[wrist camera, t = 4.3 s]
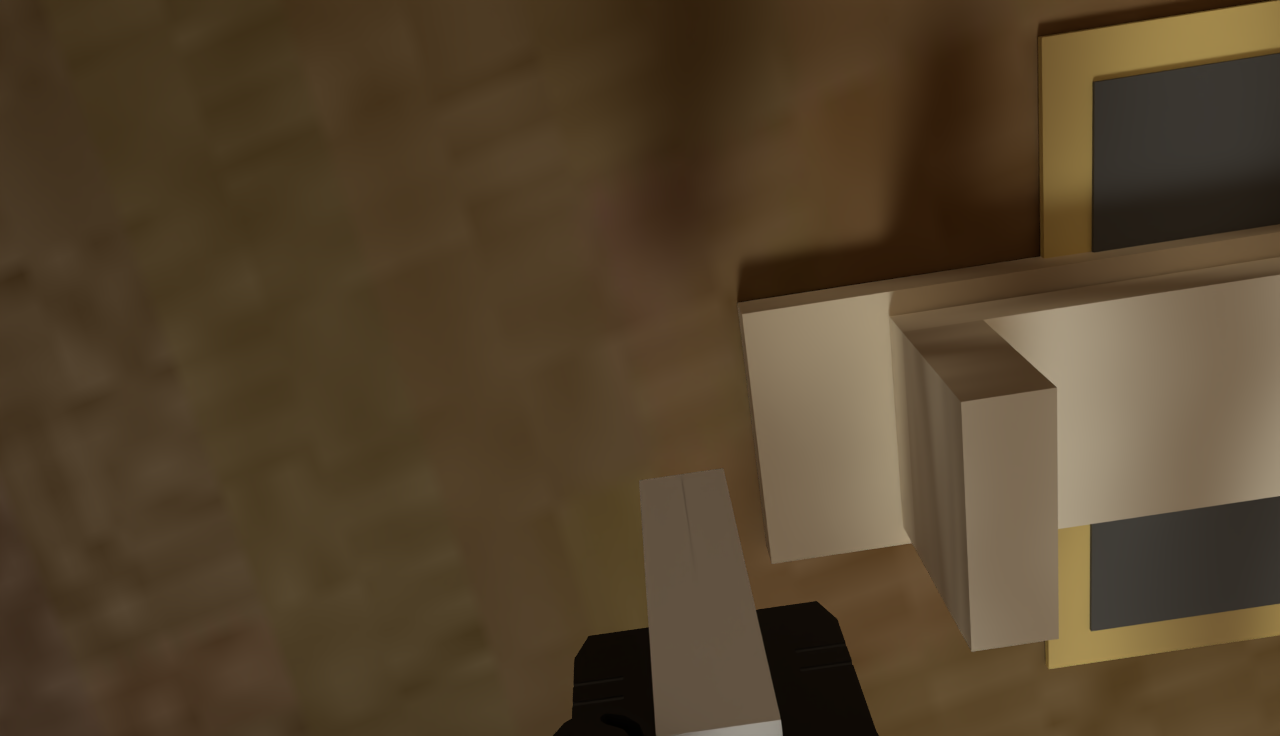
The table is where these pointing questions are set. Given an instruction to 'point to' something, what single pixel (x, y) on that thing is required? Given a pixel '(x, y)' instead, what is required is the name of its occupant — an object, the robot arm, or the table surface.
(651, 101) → the table surface
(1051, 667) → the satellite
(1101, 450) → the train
